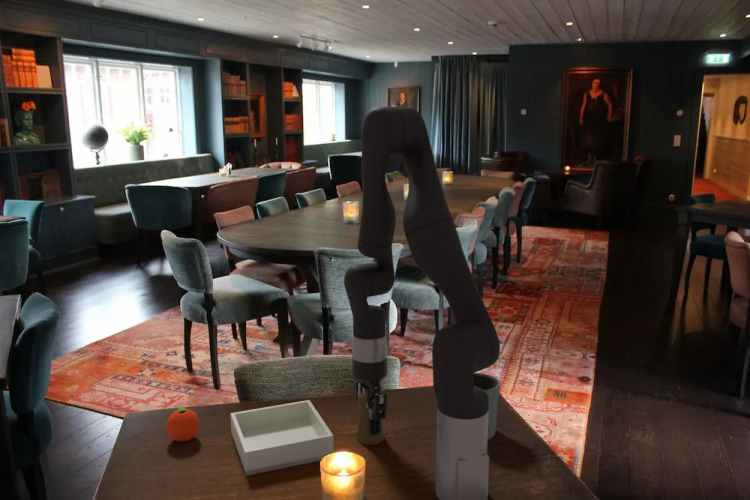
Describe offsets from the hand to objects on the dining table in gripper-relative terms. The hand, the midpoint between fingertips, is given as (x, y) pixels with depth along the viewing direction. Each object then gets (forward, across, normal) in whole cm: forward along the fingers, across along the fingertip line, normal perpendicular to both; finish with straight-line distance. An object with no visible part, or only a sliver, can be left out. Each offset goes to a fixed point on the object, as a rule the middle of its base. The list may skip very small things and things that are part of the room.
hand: (370, 427), depth 137 cm
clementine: (+3, +15, +38) cm, 41 cm away
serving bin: (+2, +4, +19) cm, 20 cm away
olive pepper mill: (+3, 0, 0) cm, 3 cm away
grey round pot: (+3, -6, -23) cm, 24 cm away
